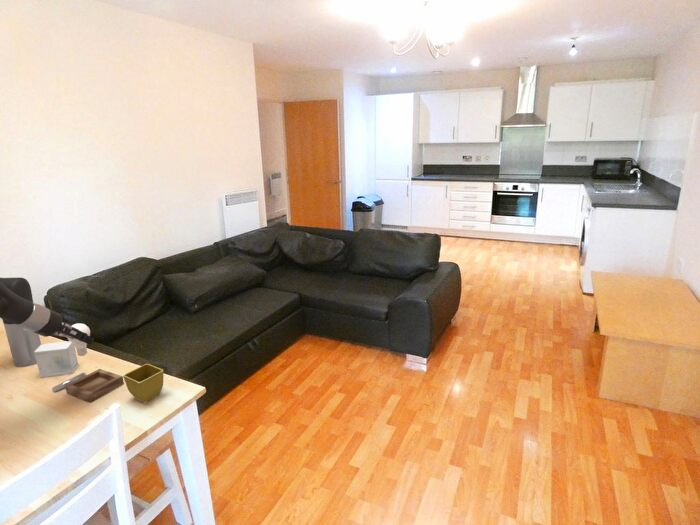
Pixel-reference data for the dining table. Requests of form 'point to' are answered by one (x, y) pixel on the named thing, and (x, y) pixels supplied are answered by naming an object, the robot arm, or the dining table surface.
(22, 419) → the dining table surface
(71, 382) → the pin
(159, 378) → the flower pot
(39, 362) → the skincare box
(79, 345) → the lightbulb
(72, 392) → the brown wooden tray
